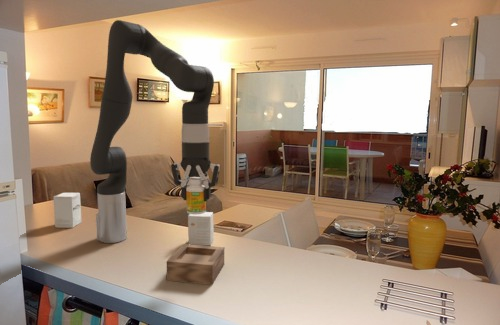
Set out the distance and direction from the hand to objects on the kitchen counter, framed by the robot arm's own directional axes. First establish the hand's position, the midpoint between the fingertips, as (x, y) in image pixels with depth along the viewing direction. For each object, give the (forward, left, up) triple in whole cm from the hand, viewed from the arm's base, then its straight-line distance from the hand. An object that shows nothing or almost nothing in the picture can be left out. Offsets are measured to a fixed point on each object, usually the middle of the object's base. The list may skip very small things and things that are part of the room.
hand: (196, 200), depth 102 cm
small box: (-6, +23, -22) cm, 32 cm away
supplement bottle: (0, 0, -4) cm, 4 cm away
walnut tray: (0, 0, -21) cm, 21 cm away
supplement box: (-64, +31, -22) cm, 74 cm away
